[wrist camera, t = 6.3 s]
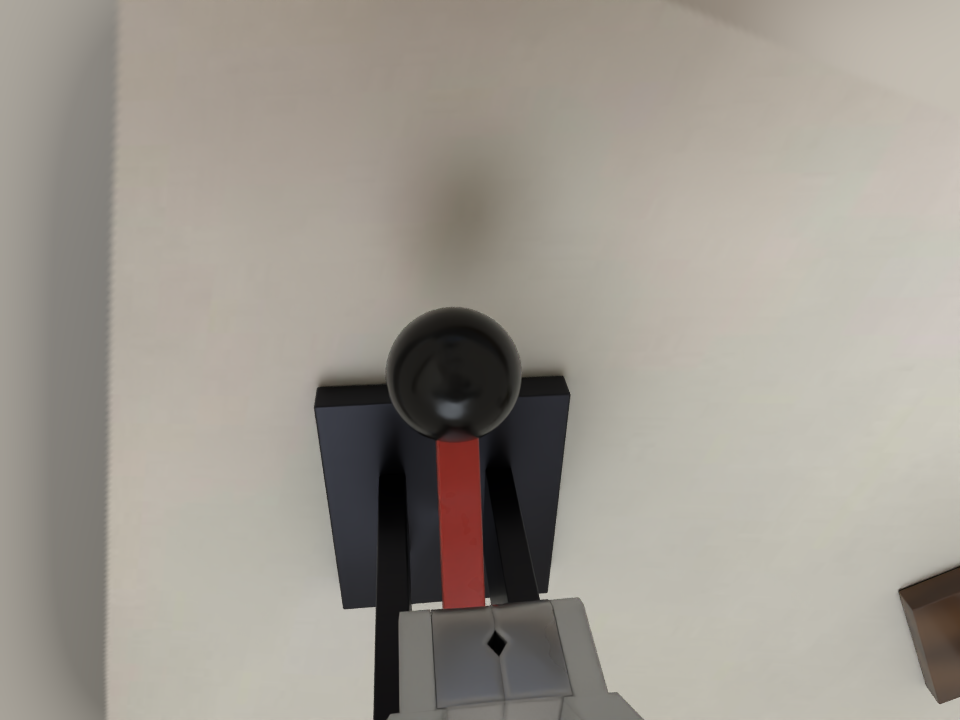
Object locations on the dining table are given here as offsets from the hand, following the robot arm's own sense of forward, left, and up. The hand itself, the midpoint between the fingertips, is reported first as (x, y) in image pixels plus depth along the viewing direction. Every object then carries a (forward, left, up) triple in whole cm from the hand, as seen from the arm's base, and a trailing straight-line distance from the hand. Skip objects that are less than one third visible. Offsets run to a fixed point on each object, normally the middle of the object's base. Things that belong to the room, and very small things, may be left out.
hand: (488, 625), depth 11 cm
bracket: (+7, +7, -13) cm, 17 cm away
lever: (+4, +4, -7) cm, 9 cm away
